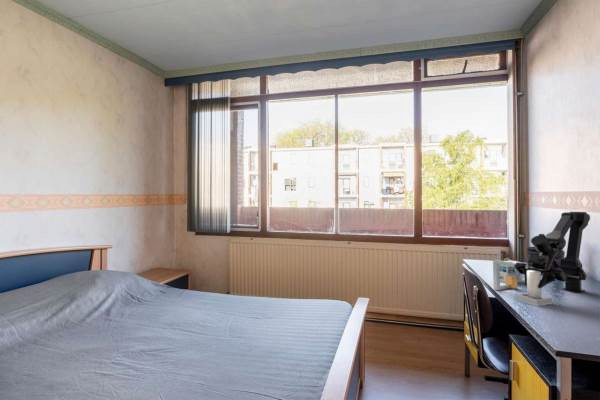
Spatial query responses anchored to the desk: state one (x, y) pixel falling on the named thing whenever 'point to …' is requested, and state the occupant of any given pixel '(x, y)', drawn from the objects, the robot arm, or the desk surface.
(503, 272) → the light bulb box
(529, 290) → the white cylinder
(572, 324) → the desk surface
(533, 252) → the storage jar
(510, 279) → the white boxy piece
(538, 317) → the desk surface
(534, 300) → the gray square tray
